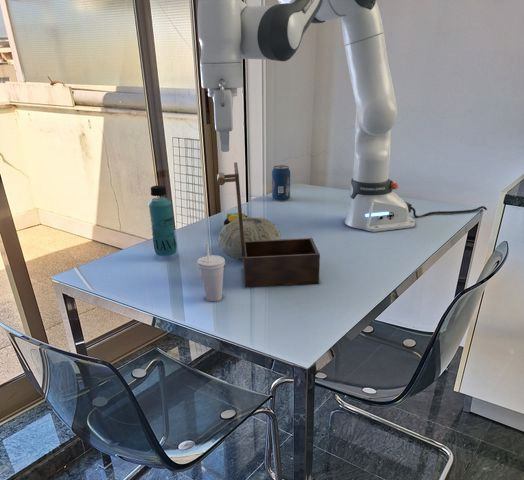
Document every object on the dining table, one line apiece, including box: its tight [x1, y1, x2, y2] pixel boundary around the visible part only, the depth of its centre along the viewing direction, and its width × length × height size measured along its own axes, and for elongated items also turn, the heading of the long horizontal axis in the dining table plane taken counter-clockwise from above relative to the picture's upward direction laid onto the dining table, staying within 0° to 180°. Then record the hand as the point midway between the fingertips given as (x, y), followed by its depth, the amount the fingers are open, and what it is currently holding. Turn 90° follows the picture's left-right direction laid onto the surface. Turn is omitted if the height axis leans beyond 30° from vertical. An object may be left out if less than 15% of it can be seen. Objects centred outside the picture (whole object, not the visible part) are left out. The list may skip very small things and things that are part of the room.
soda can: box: [271, 164, 291, 202], centre depth 191 cm, size 7×7×12 cm
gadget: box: [223, 211, 248, 226], centre depth 163 cm, size 6×13×6 cm, turn 174°
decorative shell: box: [217, 216, 281, 260], centre depth 142 cm, size 18×18×10 cm
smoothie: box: [197, 241, 226, 302], centre depth 117 cm, size 6×6×14 cm
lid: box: [216, 161, 245, 257], centre depth 121 cm, size 19×12×5 cm
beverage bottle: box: [147, 184, 178, 257], centre depth 140 cm, size 6×7×20 cm
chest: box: [242, 237, 321, 289], centre depth 129 cm, size 19×12×8 cm, turn 94°
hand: (225, 147), depth 114 cm, fingers open, 8 cm apart
